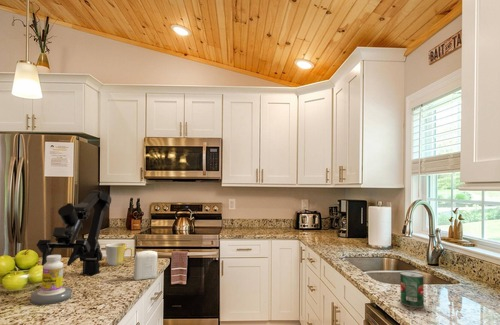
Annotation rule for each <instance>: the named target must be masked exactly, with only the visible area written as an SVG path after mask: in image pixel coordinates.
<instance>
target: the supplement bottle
mask: <svg viewBox="0 0 500 325" xmlns="http://www.w3.org/2000/svg"><path fill="white" fill-rule="evenodd" d="M46 260H47V262H46V263H45V264H44V265H43V266H42V273H41V274H42V275H41V276H42V277H41V289H42V290H41V291H42V292H43V293H56V292H59V291H60V290H61V289H62V286H63V280H64V278H63V277H64V263H63V262H62V261H61V260H62V255H61V254H51V255H49V256H47V259H46Z"/></svg>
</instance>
